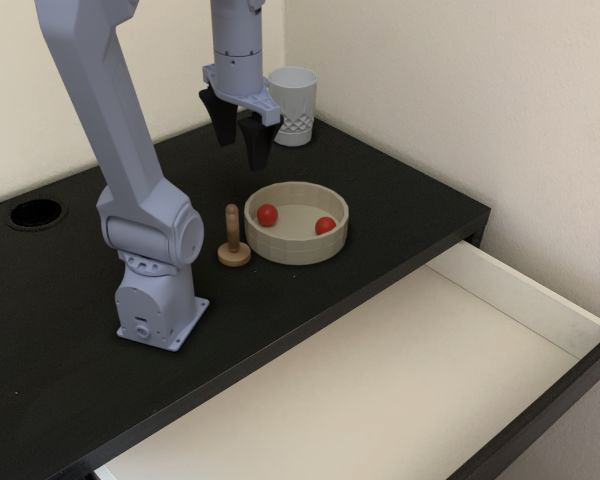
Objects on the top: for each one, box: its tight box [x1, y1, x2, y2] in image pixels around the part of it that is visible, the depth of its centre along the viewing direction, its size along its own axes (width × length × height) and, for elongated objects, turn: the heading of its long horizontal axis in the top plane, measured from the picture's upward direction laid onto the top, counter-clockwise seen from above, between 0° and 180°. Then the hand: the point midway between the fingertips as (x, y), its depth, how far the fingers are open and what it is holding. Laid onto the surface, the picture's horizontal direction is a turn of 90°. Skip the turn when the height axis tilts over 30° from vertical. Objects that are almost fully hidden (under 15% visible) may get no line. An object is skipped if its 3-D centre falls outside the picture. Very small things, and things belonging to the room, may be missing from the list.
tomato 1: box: [257, 204, 278, 226], centre depth 93 cm, size 3×3×3 cm
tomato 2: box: [315, 217, 336, 235], centre depth 91 cm, size 3×3×3 cm
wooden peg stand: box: [217, 203, 252, 268], centre depth 87 cm, size 4×4×8 cm
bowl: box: [243, 181, 350, 266], centre depth 92 cm, size 14×14×4 cm
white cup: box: [267, 65, 319, 147], centre depth 108 cm, size 8×8×10 cm
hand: (242, 156), depth 87 cm, fingers open, 7 cm apart
